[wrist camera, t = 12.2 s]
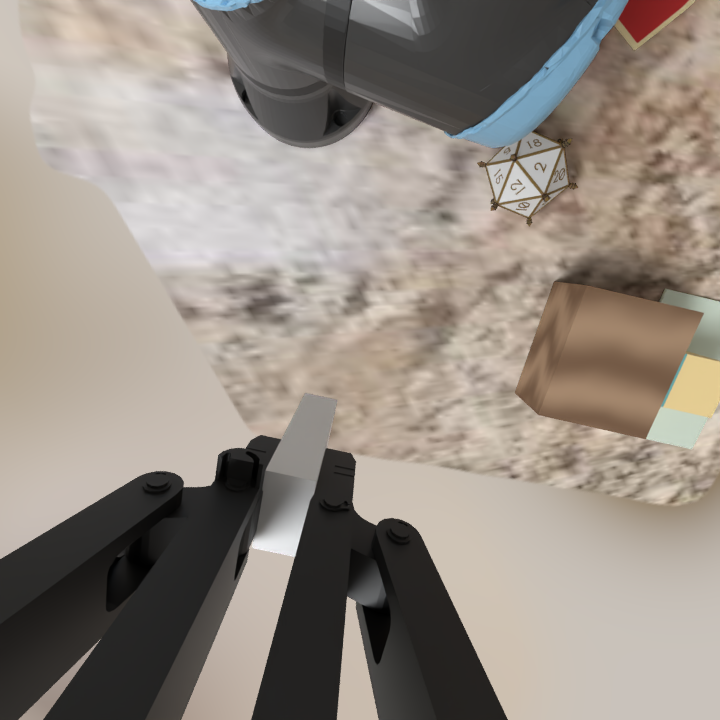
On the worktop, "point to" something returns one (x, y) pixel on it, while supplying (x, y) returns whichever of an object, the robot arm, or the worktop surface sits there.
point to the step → (605, 358)
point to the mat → (711, 339)
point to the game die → (528, 174)
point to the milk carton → (648, 18)
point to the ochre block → (695, 386)
